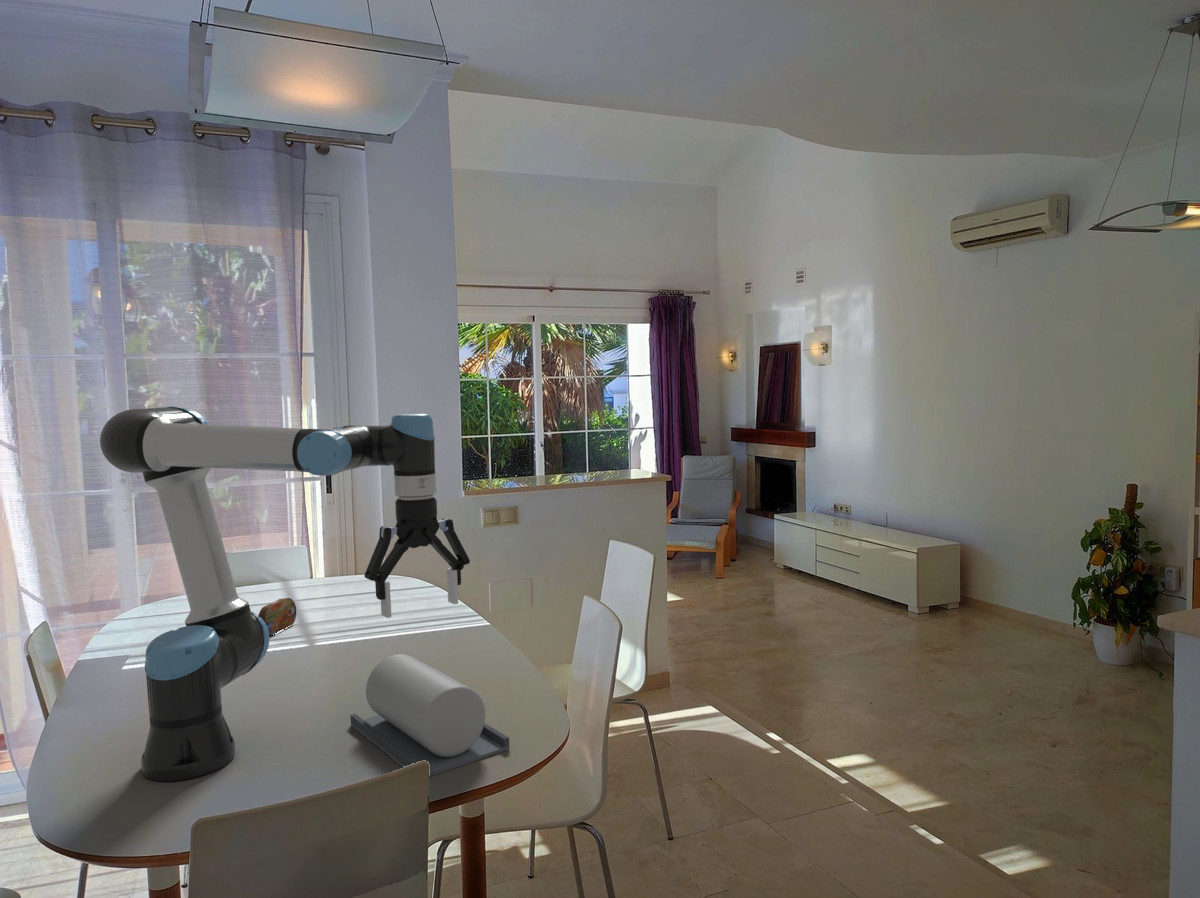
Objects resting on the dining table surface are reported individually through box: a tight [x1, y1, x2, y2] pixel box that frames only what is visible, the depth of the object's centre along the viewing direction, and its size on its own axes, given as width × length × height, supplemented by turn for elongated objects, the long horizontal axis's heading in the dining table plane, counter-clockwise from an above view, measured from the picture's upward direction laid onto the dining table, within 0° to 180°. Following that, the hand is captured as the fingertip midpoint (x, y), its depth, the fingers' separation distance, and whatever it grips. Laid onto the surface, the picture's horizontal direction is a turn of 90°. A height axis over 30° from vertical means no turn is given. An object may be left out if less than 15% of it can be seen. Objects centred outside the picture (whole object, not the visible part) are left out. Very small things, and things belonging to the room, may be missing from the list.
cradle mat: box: [349, 713, 510, 777], centre depth 158 cm, size 30×18×2 cm, turn 38°
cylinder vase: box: [365, 653, 486, 757], centre depth 157 cm, size 12×12×25 cm
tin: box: [257, 597, 297, 636], centre depth 231 cm, size 15×3×8 cm, turn 168°
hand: (420, 609), depth 156 cm, fingers open, 13 cm apart
